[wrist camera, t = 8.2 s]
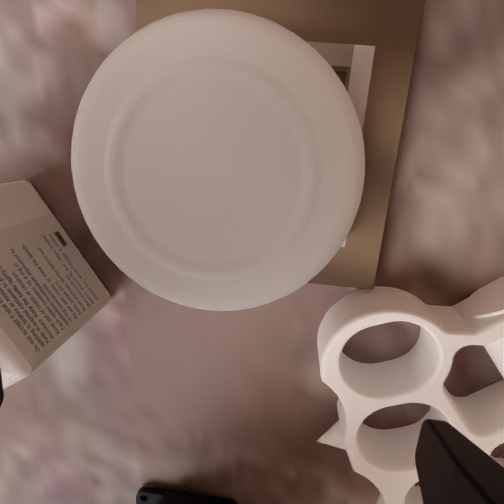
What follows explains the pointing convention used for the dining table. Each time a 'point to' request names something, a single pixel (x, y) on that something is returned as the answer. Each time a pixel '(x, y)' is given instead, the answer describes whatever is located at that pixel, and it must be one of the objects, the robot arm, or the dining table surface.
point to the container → (39, 283)
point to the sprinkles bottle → (218, 159)
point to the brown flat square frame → (358, 87)
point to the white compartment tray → (410, 380)
